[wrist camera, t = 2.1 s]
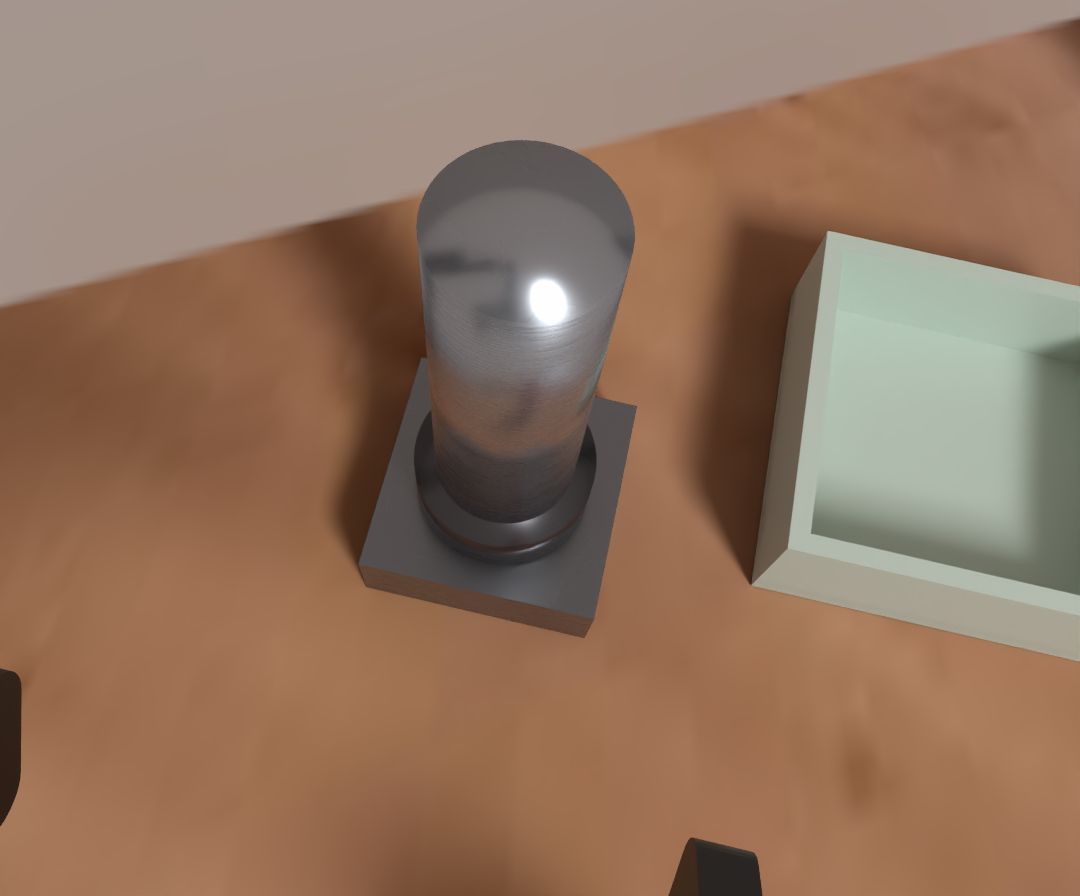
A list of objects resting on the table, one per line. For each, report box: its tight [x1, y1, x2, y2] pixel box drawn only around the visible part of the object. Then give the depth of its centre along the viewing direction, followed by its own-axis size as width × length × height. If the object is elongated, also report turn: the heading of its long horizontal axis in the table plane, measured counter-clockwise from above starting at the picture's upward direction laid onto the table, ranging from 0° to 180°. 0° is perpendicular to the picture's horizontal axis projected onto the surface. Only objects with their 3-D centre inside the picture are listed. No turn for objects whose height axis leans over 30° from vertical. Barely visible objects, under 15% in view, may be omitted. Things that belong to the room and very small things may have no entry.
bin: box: [751, 231, 1080, 662], centre depth 32 cm, size 11×11×4 cm
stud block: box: [358, 357, 637, 638], centre depth 31 cm, size 7×7×2 cm
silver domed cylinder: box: [414, 140, 635, 565], centre depth 24 cm, size 5×5×13 cm
